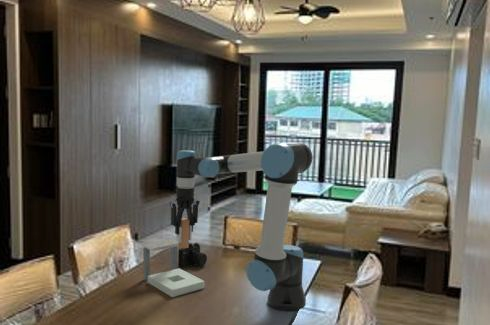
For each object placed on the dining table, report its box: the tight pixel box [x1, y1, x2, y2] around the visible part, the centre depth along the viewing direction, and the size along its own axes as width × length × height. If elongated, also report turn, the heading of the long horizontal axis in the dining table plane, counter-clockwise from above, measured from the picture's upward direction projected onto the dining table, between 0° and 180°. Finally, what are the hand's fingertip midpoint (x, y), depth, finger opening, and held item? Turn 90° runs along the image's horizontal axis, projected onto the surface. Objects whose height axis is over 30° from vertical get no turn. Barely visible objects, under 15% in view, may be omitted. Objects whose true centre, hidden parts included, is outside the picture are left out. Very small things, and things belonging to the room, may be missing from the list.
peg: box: [177, 217, 190, 249], centre depth 191 cm, size 4×4×12 cm
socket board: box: [147, 267, 206, 298], centre depth 192 cm, size 20×16×3 cm
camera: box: [177, 242, 208, 269], centre depth 218 cm, size 14×11×10 cm
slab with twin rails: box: [142, 238, 178, 282], centre depth 199 cm, size 8×16×16 cm, turn 131°
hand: (183, 240), depth 191 cm, fingers closed on peg, 4 cm apart
